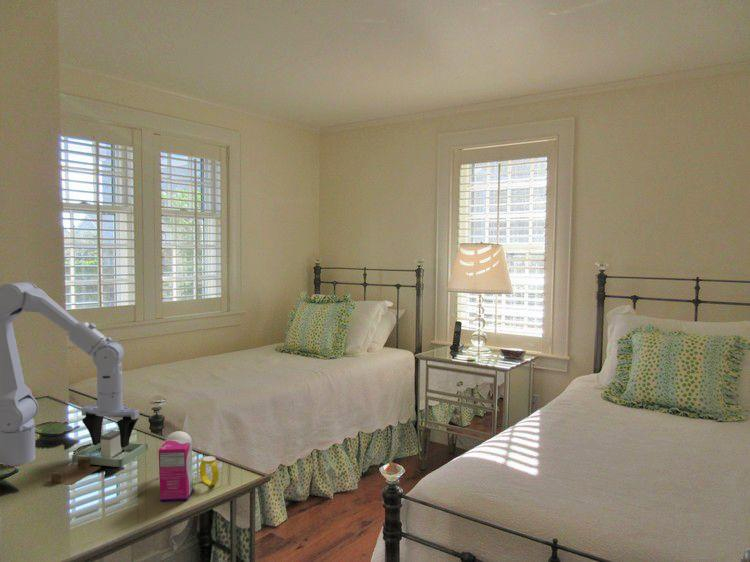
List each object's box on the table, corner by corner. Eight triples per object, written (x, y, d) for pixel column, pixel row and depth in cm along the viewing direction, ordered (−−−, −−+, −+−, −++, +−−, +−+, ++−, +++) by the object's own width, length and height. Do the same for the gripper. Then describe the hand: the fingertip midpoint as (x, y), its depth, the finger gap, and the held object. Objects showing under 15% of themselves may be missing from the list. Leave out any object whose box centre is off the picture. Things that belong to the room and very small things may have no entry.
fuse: (100, 459, 137) (100, 436, 137) (112, 453, 142) (111, 430, 141) (110, 460, 137) (110, 436, 136) (121, 454, 141) (121, 430, 141)
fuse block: (39, 485, 124) (39, 472, 124) (71, 467, 134) (71, 456, 134) (71, 488, 123) (71, 476, 122) (101, 470, 132) (101, 458, 132)
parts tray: (72, 465, 135) (72, 455, 135) (101, 449, 146) (101, 439, 146) (121, 470, 133) (121, 459, 133) (147, 453, 144) (147, 443, 143)
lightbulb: (183, 485, 125) (183, 437, 124) (158, 482, 126) (158, 435, 126) (197, 474, 131) (197, 428, 130) (173, 471, 132) (173, 426, 132)
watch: (221, 486, 126) (222, 461, 125) (210, 490, 123) (211, 465, 123) (207, 477, 130) (208, 452, 129) (196, 480, 128) (197, 455, 127)
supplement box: (166, 490, 123) (165, 439, 122) (193, 489, 123) (193, 438, 122) (158, 502, 117) (157, 449, 116) (187, 501, 118) (187, 448, 117)
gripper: (72, 393, 135) (73, 448, 136) (127, 397, 133) (127, 453, 134) (91, 386, 142) (92, 438, 143) (144, 389, 140) (144, 442, 141)
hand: (110, 445), depth 139 cm, fingers open, 7 cm apart
